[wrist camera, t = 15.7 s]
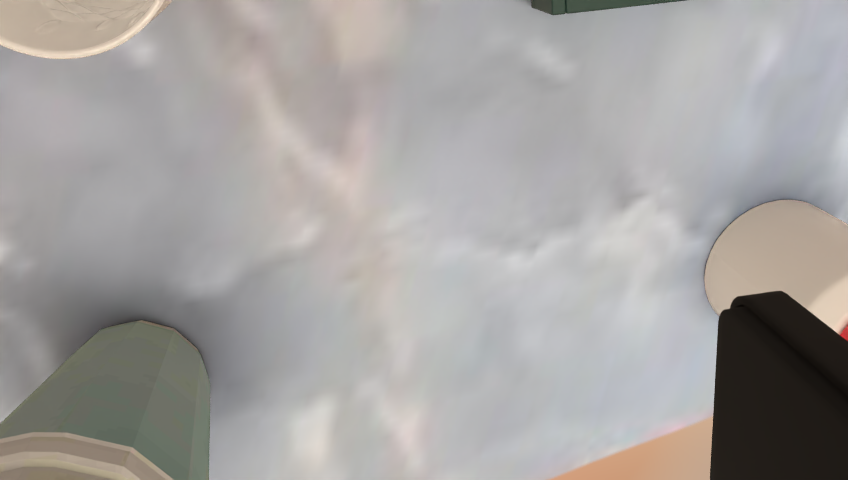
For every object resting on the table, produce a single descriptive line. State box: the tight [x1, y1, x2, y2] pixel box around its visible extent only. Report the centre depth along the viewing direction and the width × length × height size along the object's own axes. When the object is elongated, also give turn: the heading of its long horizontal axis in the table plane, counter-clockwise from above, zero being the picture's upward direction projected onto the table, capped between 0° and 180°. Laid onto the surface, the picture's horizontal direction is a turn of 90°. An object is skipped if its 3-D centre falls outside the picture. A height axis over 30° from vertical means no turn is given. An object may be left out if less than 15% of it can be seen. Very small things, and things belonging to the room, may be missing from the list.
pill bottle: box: [704, 200, 848, 341], centre depth 38 cm, size 8×8×11 cm
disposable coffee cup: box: [0, 320, 210, 480], centre depth 34 cm, size 11×11×15 cm
